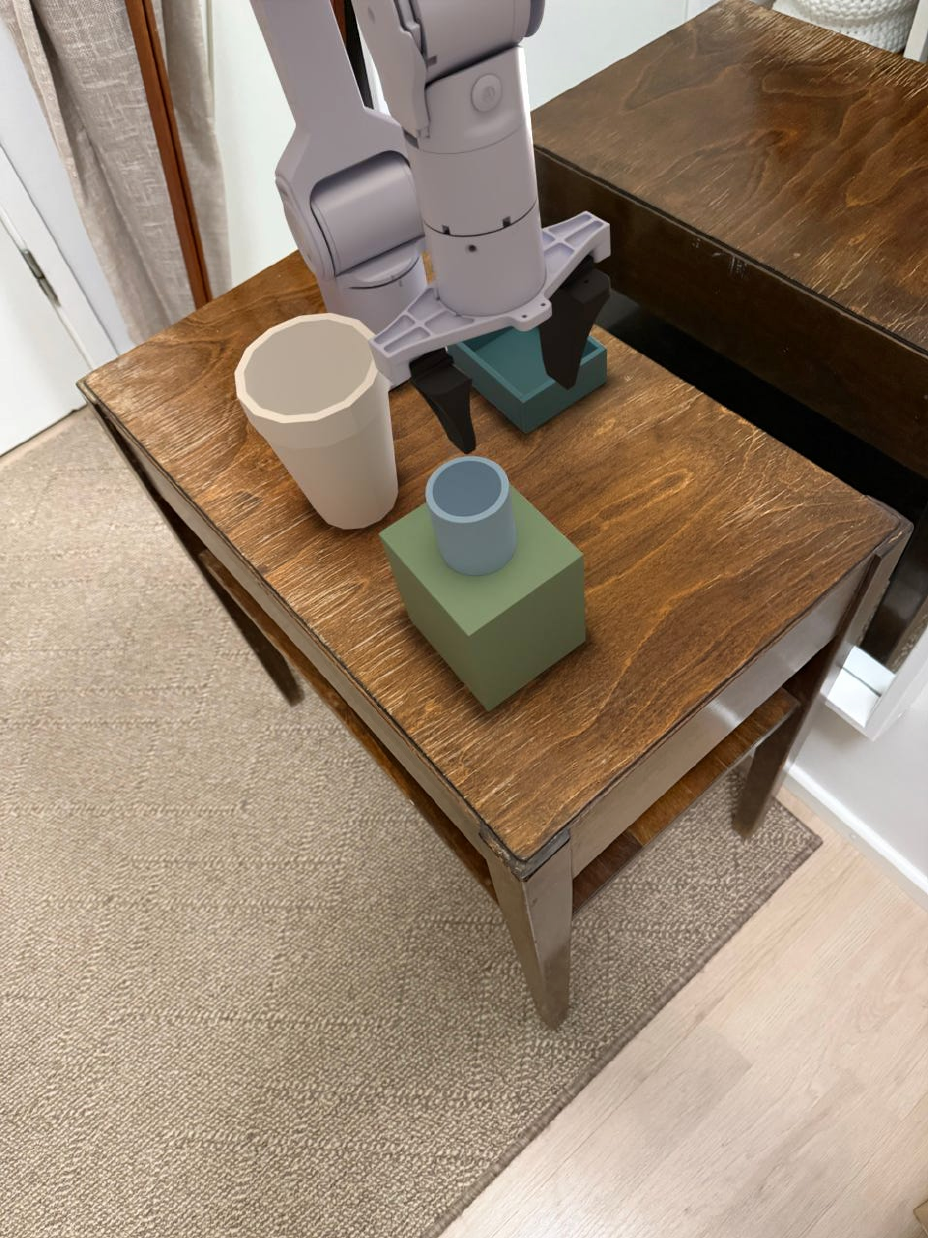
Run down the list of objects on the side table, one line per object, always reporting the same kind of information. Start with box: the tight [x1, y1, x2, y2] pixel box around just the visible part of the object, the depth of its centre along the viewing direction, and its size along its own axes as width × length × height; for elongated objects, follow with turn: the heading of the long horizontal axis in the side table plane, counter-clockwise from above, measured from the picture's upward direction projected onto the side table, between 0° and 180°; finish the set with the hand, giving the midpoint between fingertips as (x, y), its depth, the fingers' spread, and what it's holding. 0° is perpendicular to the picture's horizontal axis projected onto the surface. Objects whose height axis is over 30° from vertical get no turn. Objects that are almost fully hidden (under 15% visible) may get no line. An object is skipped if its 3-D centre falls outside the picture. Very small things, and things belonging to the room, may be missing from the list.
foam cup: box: [234, 312, 399, 530], centre depth 60 cm, size 10×9×13 cm
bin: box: [447, 325, 608, 435], centre depth 68 cm, size 10×8×3 cm
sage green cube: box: [378, 483, 587, 713], centre depth 54 cm, size 9×8×10 cm
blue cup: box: [424, 455, 517, 576], centre depth 48 cm, size 4×4×5 cm
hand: (512, 411), depth 53 cm, fingers open, 7 cm apart
